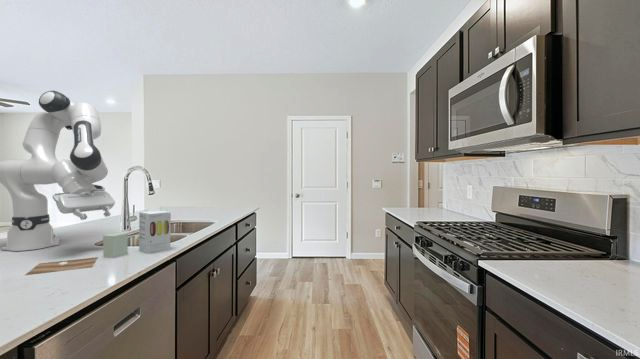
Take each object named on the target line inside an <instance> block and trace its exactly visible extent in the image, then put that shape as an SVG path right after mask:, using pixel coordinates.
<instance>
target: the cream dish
mask: <svg viewBox="0 0 640 359" xmlns="http://www.w3.org/2000/svg"><path fill="white" fill-rule="evenodd" d="M59 266H60V267H61V266H67V262H61V263H59Z"/></svg>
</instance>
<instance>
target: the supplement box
mask: <svg viewBox="0 0 640 359" xmlns="http://www.w3.org/2000/svg"><path fill="white" fill-rule="evenodd" d="M138 215H139V216H138V218H139V219H138V220H139V221H138V222H139V223H138V224H139V225H138V226H139V229H138V234H139V235H138V238H139V240H138V242H139V244H138V251H139V252H142V253H145V254H147V255H149V254H155V253H160V252H165V251H170V250H171V229H172V228H171V227H172V226H171V224H172V223H171V211H166V210H149V211H140V212H139V214H138Z"/></svg>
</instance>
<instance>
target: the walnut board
mask: <svg viewBox="0 0 640 359" xmlns="http://www.w3.org/2000/svg"><path fill="white" fill-rule="evenodd" d="M98 259H99V257H98V256H96V257H87V258H79V259H69V260H60V261H50V262H41V263H38V264H37V265H35V266H34V267H33V268H31V269H30V270H29V271H28V272H26V274H25V276H29V275H30V276H33V275H39V274H47V273H55V272H65V271H71V270H72V271H74V270H81V269H88V268H93V266H94V264H95V263H96V262H97V260H98ZM61 262H67V266H61V267H60V266H59V263H61Z"/></svg>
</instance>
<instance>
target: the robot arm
mask: <svg viewBox="0 0 640 359" xmlns="http://www.w3.org/2000/svg"><path fill="white" fill-rule="evenodd" d="M38 105H39V107H40V108H41V109H42V110H43V111H42V112H38V113H37V114H36V115H35V116H33V118H32V119H31V122H30V123H29V126H28V127H27V130H26V132H25V135H24V139H23V141H22V147H23V149H24V150H25V151H26V152H27V153H30V154H31V158H30V159H8V160H2V161H0V184H1V185H2V186H4V187H5V188H6V189H7V191H8V193H9V195H10V198H11V202H12V212H13V213H12V215H13V216H12V217H11V225H12V226H11V227H10V228H9V229H8V230H7V233H6V245H5V246H2V247H1V251H9V252H10V251H11V252H19V251H20V252H23V251H32V250H38V249H39V250H40V249H44V248H49V247H53V246H59V245H60V238H59V237H56V234H54V228H53V226H52V225H51V224H50V221H51V220H50V219H51V218H50V214H49V212H48V210H49V208H48V206H49V205H48V198H47V196H46V195H45V194H43V193H41V192H40V191H39V192H38V191H37V188H36V187H35V185H52V184H57V185H58V186H59V187H60V188H62V192H56V193H55V194H53V195H52V199H53V201H54V202H55V205H56V207H57V209H58V211H59V212H60V213H61V214H64V215H67V214H73V215H74V216H76V217H78V218H79V219H80V220H81V221H84V220H87V219H88V215H87V214H86V213H85V212H95V211H103V212H104V213H103V216H104V217H110V216H111V215H112V214H111V212H110V209H112V208H114V206H115V204H116V201H115V200H114V198H113V197H112V195H111V194H110V193H109V192H108V191H106V188H105V187H104V186H102V185H99V184H94V183H96V182H99V181H102V180H103V179H105V178H106V177H107V176H108V173H109V171H108V170H109V169H108V168H107V166H106V162H105V161H104V159H103V157H102V154H101V152H100V149H98V148H97V147H96V146H95V144H94V140H96V139H98V138H99V137H100V136H101V133H102V125H101V124H102V123H101V119H100V116H99V114H98V111H97V109H96V107H95V106H93V105H92V104H91V103H87V102H78V103H77V101H74V100H72V99H71V98H70V97H68V96H66V95H65V94H63V93H61V92H59V91H57V90H48V91H46V92H43V93H42V94H41V95H40V97H39V99H38ZM63 128H65V129H66V130H69V131H71V130H72V133H73V138H74V139H73V140H74V142H73V144H74V145H73V147H72V150H71V151H70V154H69V159H61V160H58V159H57V157H56V148H57V144H58V141H59V137H60V135H61V134H60V133H61V131H62V129H63ZM83 212H84V213H83Z"/></svg>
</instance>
